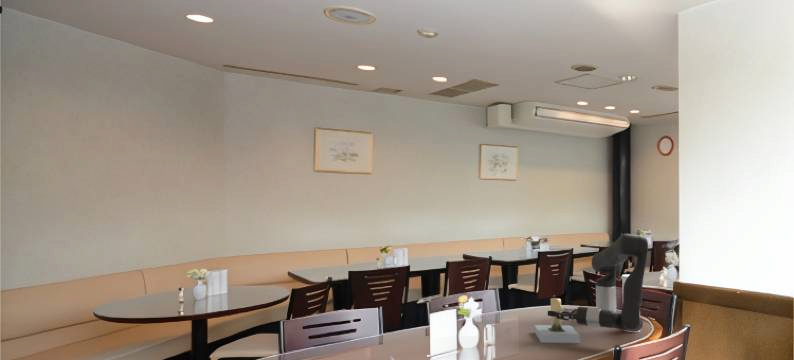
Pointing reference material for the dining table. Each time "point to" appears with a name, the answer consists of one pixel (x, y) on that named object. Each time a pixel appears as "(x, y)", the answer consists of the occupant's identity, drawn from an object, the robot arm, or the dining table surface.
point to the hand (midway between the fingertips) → (550, 312)
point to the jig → (556, 334)
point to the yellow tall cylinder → (555, 323)
